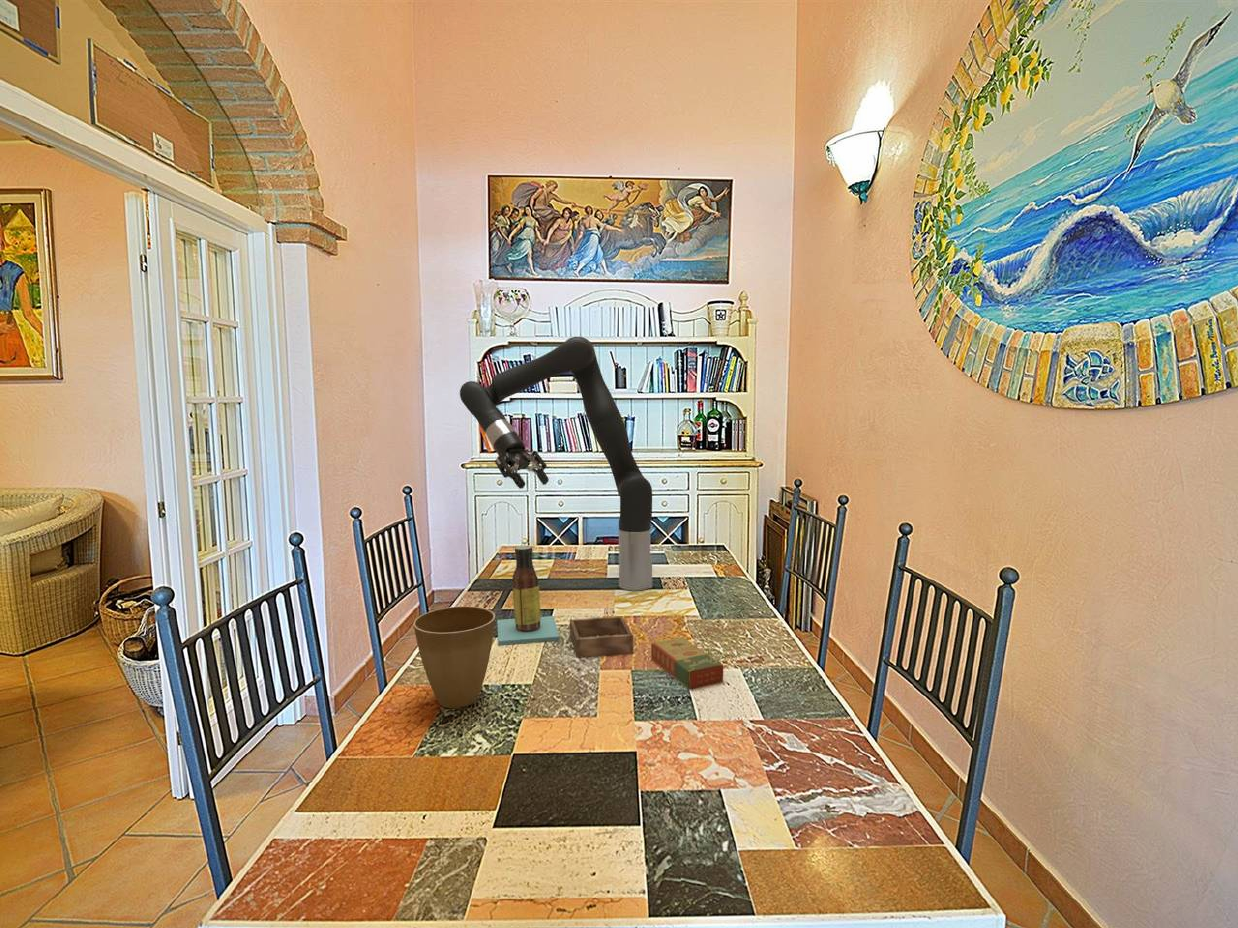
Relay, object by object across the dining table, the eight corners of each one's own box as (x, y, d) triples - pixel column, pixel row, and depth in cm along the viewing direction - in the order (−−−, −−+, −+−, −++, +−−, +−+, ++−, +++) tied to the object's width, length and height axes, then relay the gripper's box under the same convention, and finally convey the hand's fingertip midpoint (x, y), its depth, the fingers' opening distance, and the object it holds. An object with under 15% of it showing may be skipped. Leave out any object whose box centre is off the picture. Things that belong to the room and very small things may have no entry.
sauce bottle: (545, 624, 164) (543, 545, 161) (533, 633, 158) (532, 551, 155) (521, 621, 166) (519, 543, 163) (508, 630, 160) (506, 549, 157)
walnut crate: (621, 632, 161) (621, 615, 161) (633, 652, 149) (633, 635, 148) (569, 636, 159) (569, 619, 158) (576, 657, 147) (576, 639, 146)
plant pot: (512, 690, 131) (510, 611, 129) (464, 725, 118) (461, 638, 116) (451, 676, 137) (448, 600, 135) (399, 708, 124) (395, 625, 122)
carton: (683, 654, 149) (683, 635, 149) (724, 683, 135) (724, 663, 134) (650, 660, 146) (650, 641, 145) (688, 691, 131) (689, 670, 131)
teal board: (553, 619, 170) (553, 615, 170) (559, 640, 156) (559, 636, 156) (497, 623, 167) (497, 619, 167) (498, 645, 153) (498, 641, 153)
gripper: (490, 432, 177) (521, 478, 171) (530, 428, 188) (560, 472, 182) (478, 451, 181) (508, 497, 175) (517, 446, 192) (547, 490, 186)
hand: (534, 484), depth 179 cm, fingers open, 8 cm apart
